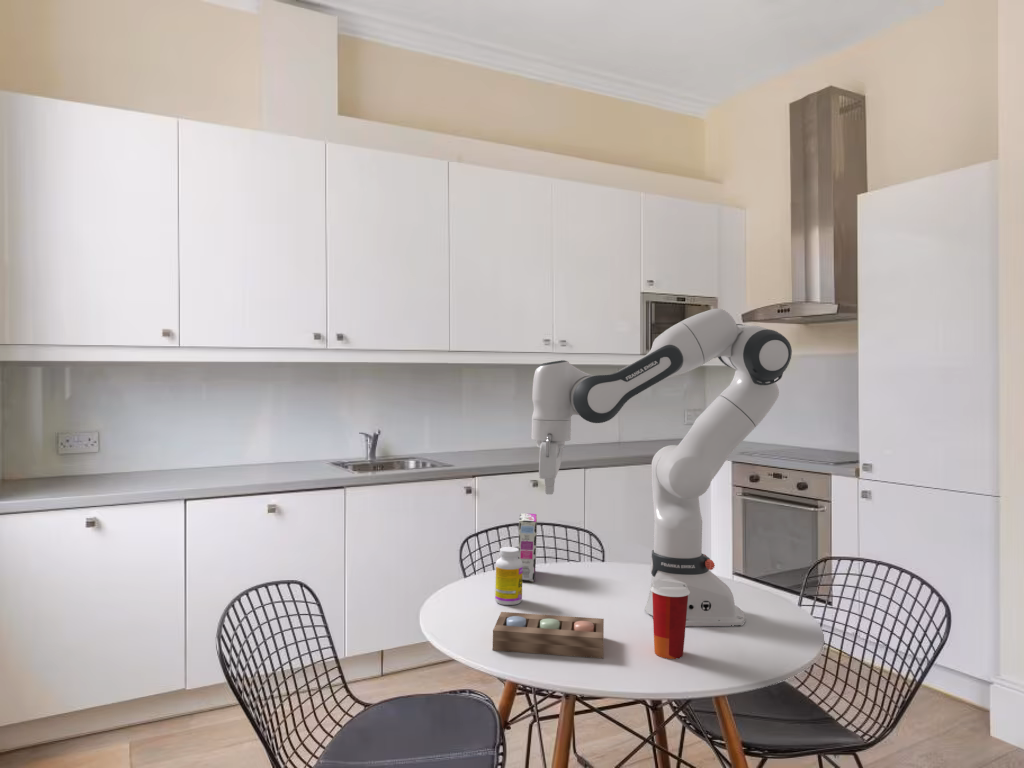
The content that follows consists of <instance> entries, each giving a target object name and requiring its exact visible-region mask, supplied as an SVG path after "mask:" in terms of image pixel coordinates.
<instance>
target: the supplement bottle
mask: <svg viewBox="0 0 1024 768" xmlns="http://www.w3.org/2000/svg"><path fill="white" fill-rule="evenodd" d="M499 555H500V558H498V559H497V560H495V576H494V578H495V581H494V601H495V603H497V604H498V605H504V606H515V605H519V604H520V603H522V601H523V582H522V571H523V563H522V561H521V560H520V559H518V555H519V549H518V548H517V547H514V546H503V547H500V549H499Z"/></svg>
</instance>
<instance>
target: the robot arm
mask: <svg viewBox="0 0 1024 768" xmlns="http://www.w3.org/2000/svg"><path fill="white" fill-rule="evenodd" d="M792 353H793V351H792V346H791V342H790V341H789V340H788V339H787V338H786V337H785V336H784V335H783V334H781V333H780V332H778V331H777V330H775V329H768V328H765V327H762V326H758V325H746V324H740V323H736V320H735V319H734V317H733V316H732V315H731V314H730V313H729V312H728V311H726V310H725V309H722V308H711V309H709V310H706V311H705V310H704V311H702V312H699V313H697V314H694V315H692V316H689V317H687V318H685V319H683V320H681V321H679V322H678V323H675V324H674V325H672V326H670V327H669V328H667V329H665V330H664V331H663V332H662V333H660V334H658V336H657V337H656V338H654V340H653V342H652V345H651V349H650V350H649V351H648V352H647V354H645V355H644V356H642V357H641V358H639V359H637V360H636V361H634V362H632V363H630V364H628V365H626V366H625V367H623V368H621V369H620V370H618V371H616V372H614V373H610V374H601V375H600V374H597V375H592V374H591V373H587V372H585V371H583V370H581V369H579V368H578V367H576V366H574V365H573V364H571V363H570V361H568V360H564V359H562V360H557V361H556V360H555V361H551V362H544V363H542V364H540V365H539V366H537V367H536V369H535V370H534V375H533V380H532V396H531V397H532V404H533V412H532V415H531V434H530V435H531V437H530V438H531V440H532V441H536V447H537V448H539V457H538V461H539V463H538V476H539V478H540V479H543V480H544V487H545V488H544V489H545V490H544V491H545V494H546V495H553V494H554V492H555V483H556V482H555V481H556V477H557V475H558V472H559V470H560V468H561V464H562V458H563V457H562V456H563V451H564V450H563V449H564V448H566V445H565V444H566V442H568V441H571V435H572V434H571V431H572V429H571V427H572V426H571V425H572V416H574V415H577V416H579V417H581V418H582V419H583V420H585V421H586V422H590V423H593V424H603V423H605V422H608V421H611V420H612V419H613V418H615V417H616V416H617V415H618V413H619V412H620V411H621V410H622V408H624V405H625V404H626V403H627V402H628V401H629V400H631V399H632V398H633V397H635V396H636V395H639V394H640V393H642V392H644V391H645V390H647V389H648V388H651V387H652V386H654V385H656V384H658V383H659V382H661V381H663V380H666V379H670V378H673V377H677V376H680V375H683V374H686V373H688V372H690V371H693V370H695V369H697V368H699V367H702V366H703V365H705V364H707V363H709V362H710V361H712V360H713V359H716V358H718V360H719V361H720V362H721V363H722V364H724V365H725V366H726V367H728V368H731V369H734V370H735V371H734V375H733V379H732V380H731V381H730V384H729V385H728V386H727V387H726V388H725V389H723V391H722V392H721V393H720V394H719V395H718V396H717V397H716V398H715V399H714V400H713V401H712V402H711V403H710V404H709V405H708V406H707V407H706V409H704V410H703V411H702V412H701V414H699V415H698V416H697V418H696V419H695V420H694V422H693V424H692V426H691V427H690V428H689V430H688V432H687V433H686V435H684V437H683V438H682V440H681V441H680V442H679V444H671V445H666V446H664V447H662V448H660V449H659V450H658V451H657V452H656V453H654V455H653V457H652V460H651V467H650V468H651V489H652V491H651V492H652V505H653V518H654V519H653V550H651V556H650V572H651V582H650V586H649V587H650V588H651V587H652V584H654V582H655V581H657V580H662V579H669V580H677V581H681V582H684V583H685V584H686V585H687V587H688V590H689V591H690V594H689V595H688V603H687V615H686V627H735V626H734V625H741V626H743V625H744V624H745V623H744V621H745V622H746V618H745V617H746V616H745V613H744V611H743V610H742V609H741V608H740V607H739V606H737V605H736V604H735V598H734V594H733V592H732V590H731V588H730V586H728V585H727V584H726V582H724V581H723V580H721V578H719V577H718V576H716V574H715V573H713V572H712V571H711V570H714V569H715V566H716V565H715V563H714V561H713V560H712V559H711V558H710V557H709V556H707V555H706V554H704V553H702V547H703V518H702V513H701V507H700V500H699V499H700V497H701V496H703V495H704V494H705V493H706V492H707V491H708V489H709V488H710V486H711V482H712V481H713V479H714V478H715V477H716V475H717V474H718V473H719V471H720V470H721V468H723V465H724V464H725V462H726V461H727V459H728V458H729V457H730V455H731V454H733V452H734V451H735V449H736V448H737V447H738V446H739V445H740V444H741V443H742V442H743V441H744V440H745V439H746V438H747V437H748V436H749V435H750V434H751V433H752V432H753V430H754V429H756V428H757V426H758V425H759V424H760V423H761V422H762V421H763V420H764V418H765V417H766V416H767V414H768V413H769V412H770V411H771V409H772V408H773V407H774V405H775V403H776V401H778V398H779V396H780V394H779V393H780V391H779V386H778V384H777V382H779V381H780V380H781V379H782V377H783V374H784V372H785V371H786V370H787V368H788V366H789V365H790V363H791V360H792ZM650 588H649V593H648V598H647V601H646V604H645V608H644V610H645V612H646V613H647V614H649V615H650V616H652V617H653V597H652V591H651V590H650ZM743 623H744V624H743ZM742 624H743V625H742ZM731 625H732V626H731Z"/></svg>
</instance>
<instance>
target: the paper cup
mask: <svg viewBox="0 0 1024 768" xmlns="http://www.w3.org/2000/svg"><path fill="white" fill-rule="evenodd" d="M650 587H651V586H650ZM650 590H651V591H652V597H653V616H652V617H653V618H652V620H653V621H652V622H653V625H652V627H653V642H654V643H653V644H654V646H653V647H654V654H655V655H656V656H658V657H660V658H662V659H666V658H667V659H668V660H677V659H676V658H678V659H681V658H682V657H683V655H684V649H685V640H686V639H685V637H686V627H687V626H686V615H687V603H688V595H689V594H690V591H689V590H688V587H687V585H686V584H685V583H684V582H681V581H677V580H669V579H662V580H657V581H655V582H654V584H652V587H651V588H649V591H650ZM680 657H681V658H680Z"/></svg>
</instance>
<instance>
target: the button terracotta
mask: <svg viewBox="0 0 1024 768" xmlns="http://www.w3.org/2000/svg"><path fill="white" fill-rule="evenodd" d="M574 631H587V632H594V624H593V623H591V622H588V621H577V622H575V623H574Z"/></svg>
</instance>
